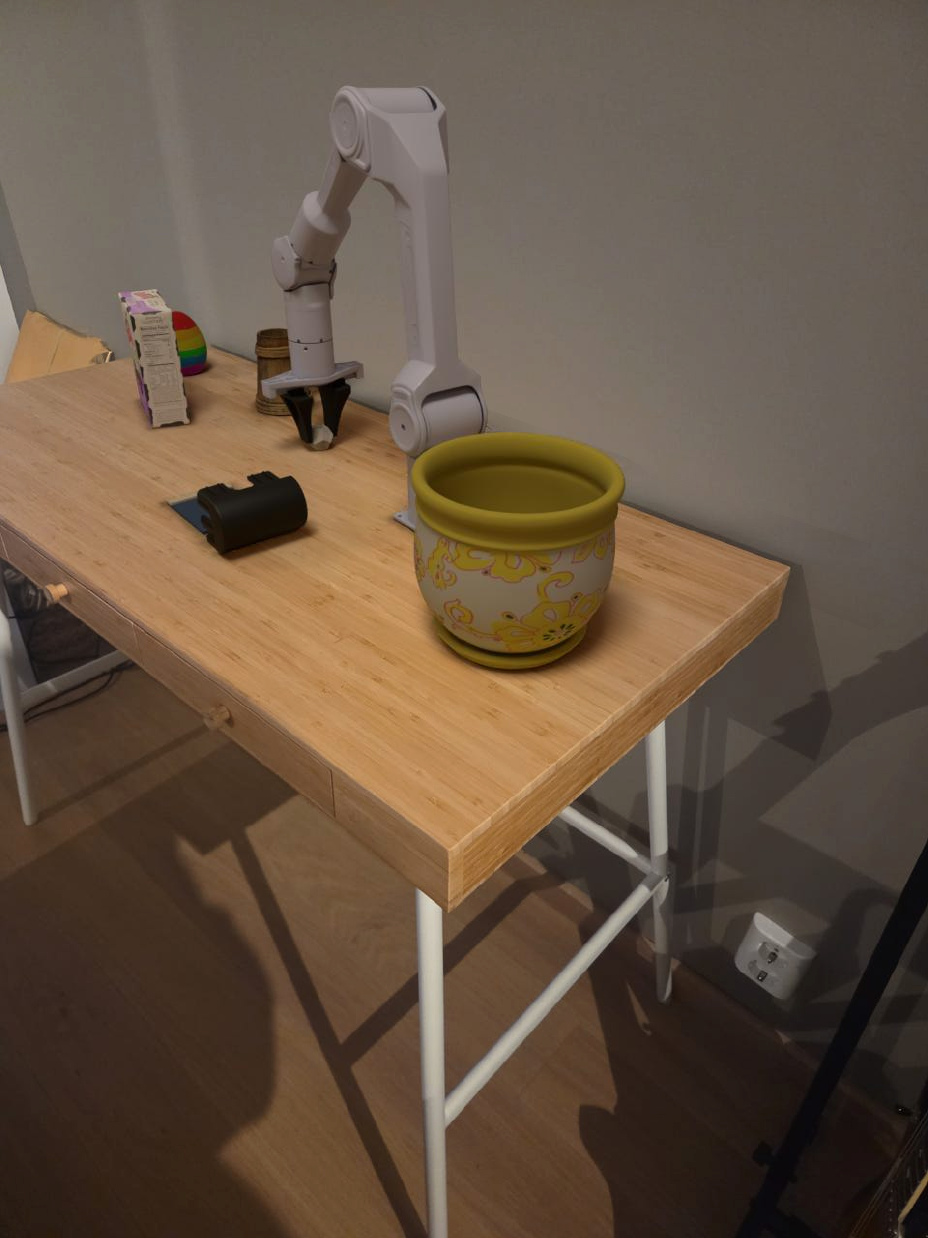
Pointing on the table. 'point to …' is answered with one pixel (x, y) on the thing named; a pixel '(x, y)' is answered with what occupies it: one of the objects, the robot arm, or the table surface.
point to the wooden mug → (272, 367)
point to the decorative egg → (189, 344)
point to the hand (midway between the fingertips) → (319, 438)
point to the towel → (190, 509)
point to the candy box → (155, 357)
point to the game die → (321, 437)
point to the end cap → (252, 511)
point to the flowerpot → (514, 543)
